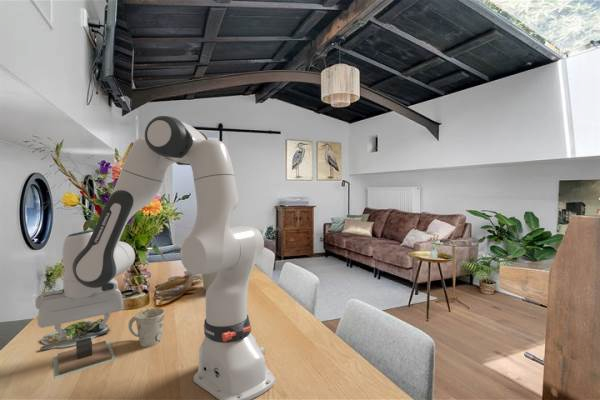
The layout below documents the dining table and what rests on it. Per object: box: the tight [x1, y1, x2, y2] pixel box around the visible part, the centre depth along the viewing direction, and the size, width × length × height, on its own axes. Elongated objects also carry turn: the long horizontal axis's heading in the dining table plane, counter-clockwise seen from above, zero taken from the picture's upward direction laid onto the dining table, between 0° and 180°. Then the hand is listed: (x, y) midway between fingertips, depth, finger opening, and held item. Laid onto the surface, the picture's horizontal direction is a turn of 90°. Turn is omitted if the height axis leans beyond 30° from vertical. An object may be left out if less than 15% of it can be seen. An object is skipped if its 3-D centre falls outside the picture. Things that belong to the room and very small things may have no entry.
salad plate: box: [39, 318, 111, 351], centre depth 102 cm, size 19×18×5 cm
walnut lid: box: [57, 337, 112, 375], centre depth 90 cm, size 12×12×5 cm
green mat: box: [52, 340, 117, 379], centre depth 90 cm, size 14×14×1 cm
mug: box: [128, 307, 165, 348], centre depth 99 cm, size 8×13×10 cm, turn 78°
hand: (83, 332), depth 90 cm, fingers open, 8 cm apart
